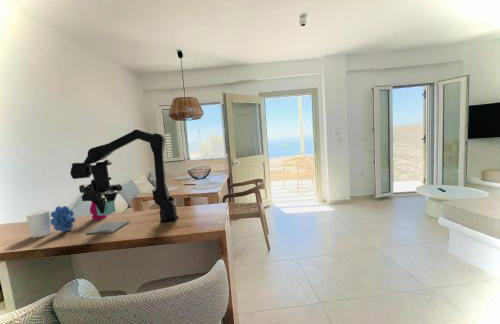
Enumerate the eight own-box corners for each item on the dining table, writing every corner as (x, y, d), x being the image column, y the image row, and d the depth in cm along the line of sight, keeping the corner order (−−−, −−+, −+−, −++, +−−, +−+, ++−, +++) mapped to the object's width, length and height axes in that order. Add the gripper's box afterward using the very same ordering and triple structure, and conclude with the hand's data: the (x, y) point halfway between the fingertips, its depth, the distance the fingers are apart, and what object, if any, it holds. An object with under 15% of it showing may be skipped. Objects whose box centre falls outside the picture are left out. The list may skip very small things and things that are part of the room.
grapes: (63, 237, 104) (58, 209, 102) (48, 237, 104) (43, 210, 103) (84, 226, 115) (80, 201, 114) (70, 227, 116) (66, 202, 114)
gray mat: (129, 222, 116) (129, 221, 116) (113, 232, 104) (112, 231, 104) (104, 223, 117) (104, 222, 117) (86, 234, 105) (85, 232, 105)
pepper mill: (102, 220, 123) (96, 180, 120) (88, 221, 123) (81, 181, 121) (110, 215, 130) (105, 177, 128) (97, 216, 130) (91, 178, 128)
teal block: (115, 211, 112) (113, 200, 111) (108, 215, 107) (106, 203, 106) (105, 211, 112) (103, 201, 112) (97, 215, 107) (95, 204, 107)
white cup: (34, 239, 103) (30, 216, 102) (27, 236, 108) (23, 214, 106) (56, 232, 110) (52, 210, 109) (49, 230, 114) (45, 209, 113)
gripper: (98, 173, 117) (103, 205, 119) (66, 181, 99) (72, 219, 101) (120, 172, 117) (125, 204, 118) (92, 180, 98) (98, 218, 100)
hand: (106, 211), depth 109 cm, fingers closed on teal block, 5 cm apart
